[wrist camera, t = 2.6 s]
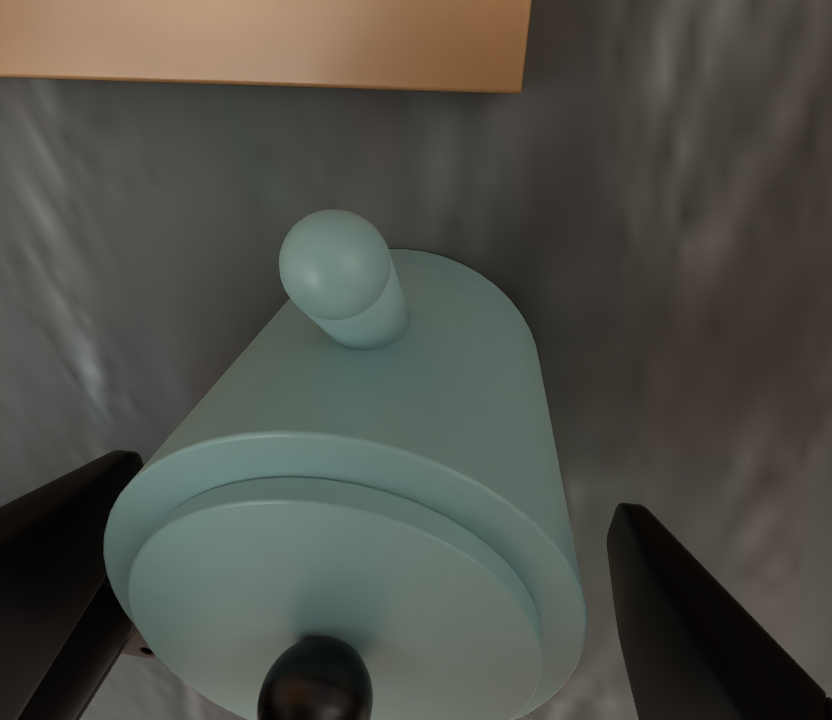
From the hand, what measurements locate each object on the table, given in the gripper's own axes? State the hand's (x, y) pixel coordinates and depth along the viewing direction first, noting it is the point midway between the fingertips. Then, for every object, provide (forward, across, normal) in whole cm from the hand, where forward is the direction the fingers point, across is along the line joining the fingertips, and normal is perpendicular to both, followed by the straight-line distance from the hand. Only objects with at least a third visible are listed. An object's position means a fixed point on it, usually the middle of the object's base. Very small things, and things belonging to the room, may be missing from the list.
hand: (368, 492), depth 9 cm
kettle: (+4, 0, 0) cm, 4 cm away
